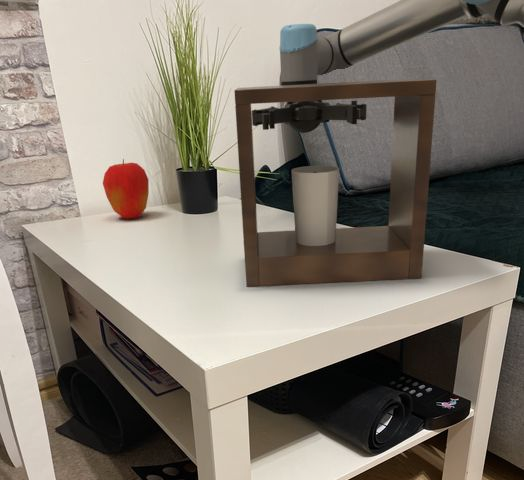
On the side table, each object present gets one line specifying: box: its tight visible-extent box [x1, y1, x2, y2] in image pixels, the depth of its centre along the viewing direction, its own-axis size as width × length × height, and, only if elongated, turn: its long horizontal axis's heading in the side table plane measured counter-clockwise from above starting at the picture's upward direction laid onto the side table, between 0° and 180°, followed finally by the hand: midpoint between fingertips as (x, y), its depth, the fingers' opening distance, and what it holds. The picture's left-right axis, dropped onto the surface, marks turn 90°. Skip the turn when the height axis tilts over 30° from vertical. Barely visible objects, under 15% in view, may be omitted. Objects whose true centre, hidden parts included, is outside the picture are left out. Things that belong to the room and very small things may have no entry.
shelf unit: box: [233, 78, 438, 288], centre depth 80 cm, size 24×14×25 cm, turn 91°
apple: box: [102, 158, 150, 220], centre depth 120 cm, size 9×9×12 cm
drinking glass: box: [290, 165, 340, 246], centre depth 81 cm, size 7×7×10 cm
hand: (313, 117), depth 95 cm, fingers open, 13 cm apart
